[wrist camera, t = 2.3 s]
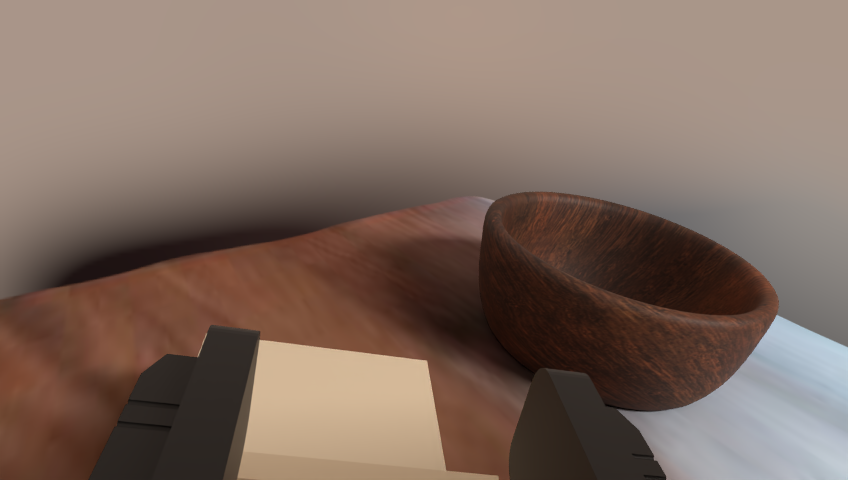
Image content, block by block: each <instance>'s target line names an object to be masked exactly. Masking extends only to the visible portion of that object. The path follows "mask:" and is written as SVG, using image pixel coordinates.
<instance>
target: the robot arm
mask: <svg viewBox="0 0 848 480" xmlns="http://www.w3.org/2000/svg"><path fill="white" fill-rule="evenodd" d="M259 340H260V331H256V330H248V329H240V328H232V327H224V326H216V325H211V326H210V327H209V330H208V332H207V335H206V337H205V340H204V343H203V345H202V348H201V351H200V353H199V356H198V357H189V356H181V355H172V354H166V355H165V356H164V357H162V358H161V359H160V360H158V361H157V362H156V363H155V364H153V365H152V366H151V367H149V368H148V369H147V370H145V371H144V372H143V373H141V375H140V377H139V379H138V381H137V383H136V385H135V387H134V389H133V391H132V393H131V395H130V397H129V400H128V404H126V405H125V407H124V409H123V411H122V413H121V415H120V417H119V419H118V423H117V426H116V427H114V429H113V431H112V433H111V435H110V437H109V439H108V441H107V443H106V445H105V448H104V450H103V452H102V454H101V456H100V458H99V460H98V462H97V464H96V466H95V468H94V470H93V472H92V474H91V476H90V478H89V480H237V477H238V472H239V468H240V463H241V459H242V454H243V449H244V444H245V438H246V433H247V427H248V421H249V414H250V407H251V400H252V392H253V385H254V378H255V370H256V363H257V355H258V348H259ZM509 474H510V480H666V475H665V474H664V472H663V470H662V469H661V467H660V465H659V463H658V462H657V461H654V455H653V453H652V452H651V450H650V448H649V446H648V445H647V443H646V441H645V440H644V438H643V436H642V435H641V433H640V431H639V430H638V429H637V428H636V427H635V426H634V425H633V424H632V423H630V422H629V421H628V420H627V419H626V418H625V417H624V416H623V415H622V414H621V413H620V412H619V411H618V410H617V409H616V408H612V407H606V406H605V404H604V402H603V401H602V399H601V397H600V395H599V393H598V391H597V390H596V388H595V386H594V384H593V382H592V380H591V379H590V377H589V376H588V375H587V374H585V373H579V372H572V371H564V370H556V369H548V368H540V369H539V370H538V371H537V372H536V373H535V375H534V377H533V380H532V383H531V386H530V389H529V392H528V395H527V398H526V401H525V404H524V407H523V410H522V413H521V415H520V418H519V421H518V424H517V427H516V430H515V433H514V436H513V439H512V443H511V447H510V454H509Z"/></svg>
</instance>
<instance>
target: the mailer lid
mask: <svg viewBox="0 0 848 480" xmlns="http://www.w3.org/2000/svg"><path fill="white" fill-rule="evenodd" d="M206 335H207V334H206ZM205 337H206V336H205ZM204 340H205V339H204ZM203 343H204V341H203ZM202 345H203V344H202ZM201 348H202V347H201ZM200 351H201V349H200ZM199 353H200V352H199ZM198 356H199V355H198ZM237 480H499V478H498V476H495V475H484V474H474V473H463V472H453V471H446V467H445V461H444V455H443V450H442V444H441V438H440V433H439V427H438V421H437V416H436V410H435V404H434V398H433V393H432V387H431V381H430V376H429V370H428V364H427V361H424V360H416V359H408V358H400V357H392V356H384V355H376V354H368V353H360V352H352V351H344V350H336V349H328V348H320V347H312V346H304V345H296V344H288V343H280V342H272V341H264V340H259V348H258V355H257V363H256V370H255V378H254V385H253V392H252V400H251V407H250V414H249V421H248V427H247V433H246V438H245V444H244V449H243V454H242V459H241V463H240V468H239V472H238V477H237Z"/></svg>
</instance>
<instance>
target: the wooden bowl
mask: <svg viewBox="0 0 848 480" xmlns="http://www.w3.org/2000/svg"><path fill="white" fill-rule="evenodd" d="M479 287H480V296H481V301H482V305H483V310H484V313H485V316H486V318H487V321H488V324H489V326H490V328H491V330H492V332H493V333H494V335H495V336H496V338H497V339H498V341H499V342H500V343H501V344H502V346H503V347H504V348H505V349H506V350H507V351H508V352H509V353H510V354H511V355H512V356H513V357H514V358H515V359H516V360H517V361H519V362H520V363H521V364H522V365H524V366H525V367H526V368H528V369H529V370H531V371H532V372H533V373H536V372H537V371H538V370H539V369H540V368H548V369H556V370H564V371H572V372H579V373H585V374H587V375H588V376H589V377H590V379H591V380H592V382H593V384H594V386H595V388H596V390H597V391H598V393H599V395H600V397H601V399H602V401H603V402H604V404H607V405H611V406H615V407H620V408H626V409H633V410H645V411H657V410H667V409H674V408H679V407H683V406H686V405H689V404H691V403H693V402H695V401H697V400H699V399H701V398H703V397H705V396H707V395H708V394H710V393H711V392H713V391H714V390H716V389H717V388H719V387H720V386H721V385H723V384H724V383H725V382H726V381H727V380H728V379H729V378H730V377H731V376H732V375H733V374H734V373H735V372H736V371H737V370H738V369H739V368H740V366H741V365H742V364H743V363H744V362H745V361H746V359H747V358H748V357H749V355H750V354H751V353H752V351H753V350H754V349H755V347H756V346H757V344H758V343H759V342H760V340H761V339H762V337H763V336H764V334H765V333H766V332H767V330H768V329H769V327H770V326H771V324H772V322H773V321H774V319H775V317H776V315H777V312H778V305H779V300H778V296H777V294H776V292H775V290H774V288H773V287H772V286H771V284H770V283H769V281H767V279H766V278H765V277H764V276H763V275H762V274H761V273H760V272H759V271H758V270H757V269H756V268H754V267H753V266H752V265H751V264H750V263H748V262H747V261H745V260H744V259H743V258H741V257H740V256H738V255H737V254H735V253H734V252H732V251H730V250H729V249H727V248H725V247H724V246H722V245H720V244H718V243H716V242H715V241H713V240H711V239H709V238H707V237H705V236H703V235H701V234H698V233H697V232H694V231H692V230H690V229H688V228H685V227H683V226H681V225H678V224H676V223H673V222H671V221H668V220H666V219H663V218H660V217H658V216H655V215H652V214H649V213H646V212H643V211H640V210H637V209H634V208H630V207H626V206H623V205H620V204H616V203H612V202H608V201H604V200H599V199H594V198H590V197H584V196H579V195H571V194H564V193H555V192H554V193H553V192H524V193H516V194H512V195H508V196H505V197H502V198H500V199H498V200H496V201H495V202H494V203H492V205H491V206H490V207H489V209H488V211H487V213H486V216H485V220H484V225H483V233H482V242H481V250H480V262H479Z"/></svg>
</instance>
